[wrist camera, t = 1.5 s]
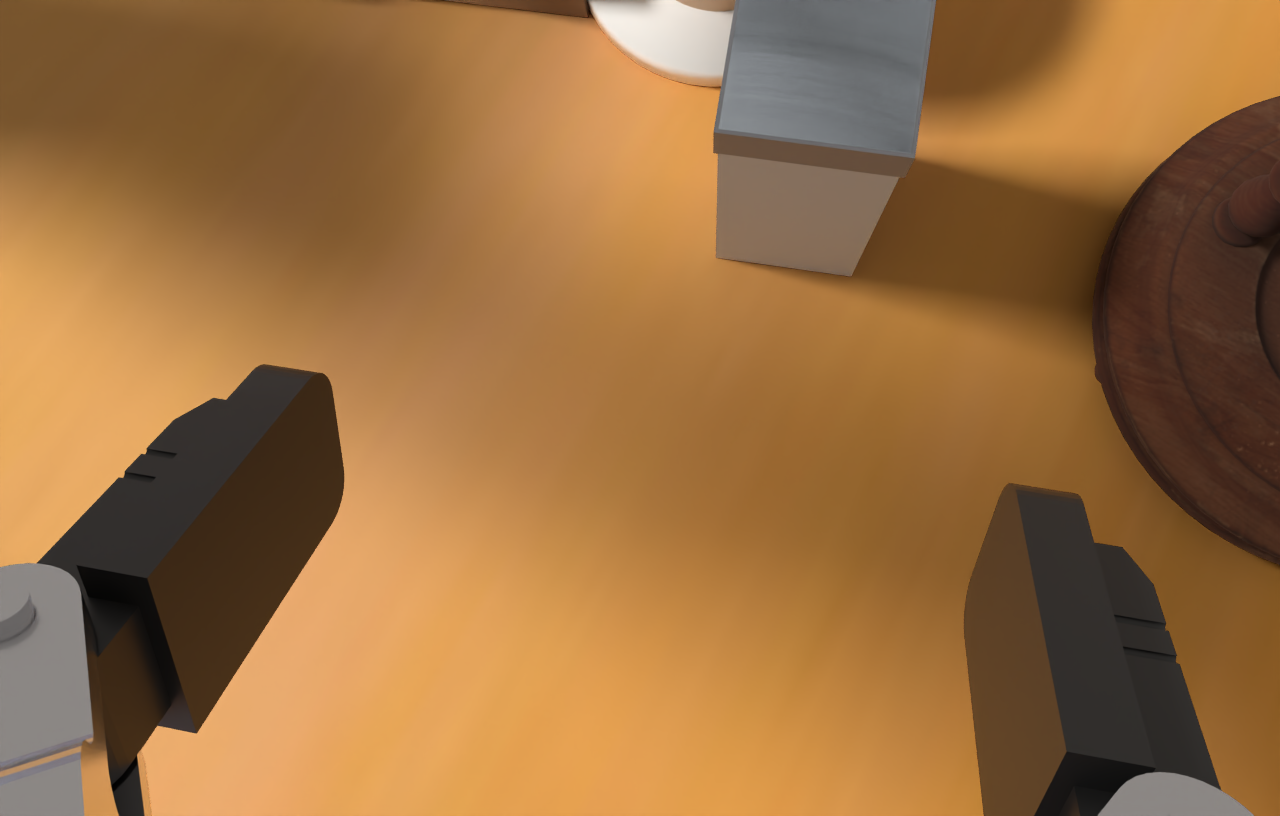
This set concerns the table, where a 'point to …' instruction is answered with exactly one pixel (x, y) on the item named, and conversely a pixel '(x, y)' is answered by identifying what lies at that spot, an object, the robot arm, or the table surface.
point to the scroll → (1202, 327)
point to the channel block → (539, 5)
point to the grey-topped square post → (816, 126)
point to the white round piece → (670, 35)
